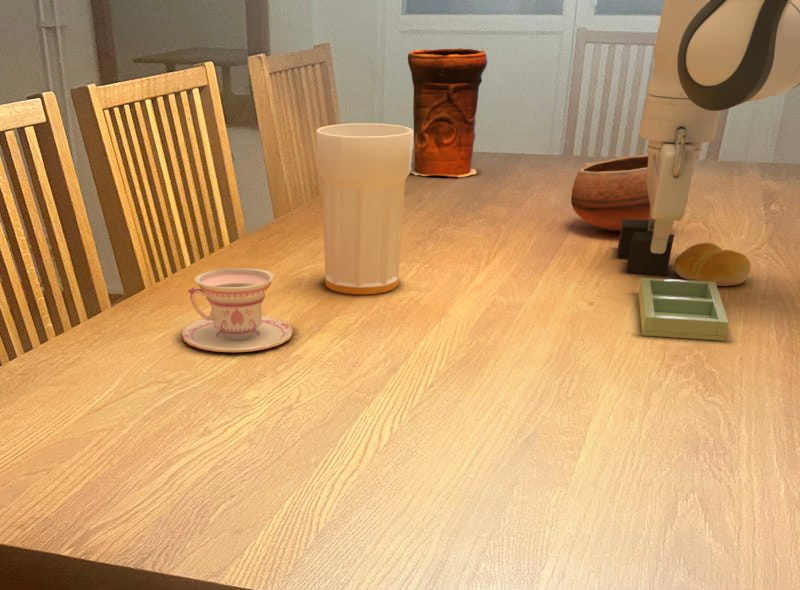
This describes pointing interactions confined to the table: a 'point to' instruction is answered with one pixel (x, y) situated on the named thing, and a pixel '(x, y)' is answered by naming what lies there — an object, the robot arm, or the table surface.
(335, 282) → the cup
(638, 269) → the pad
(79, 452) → the table surface
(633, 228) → the black block
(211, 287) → the teacup
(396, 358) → the table surface
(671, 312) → the frame
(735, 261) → the bread roll
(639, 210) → the bowl
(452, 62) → the vessel
